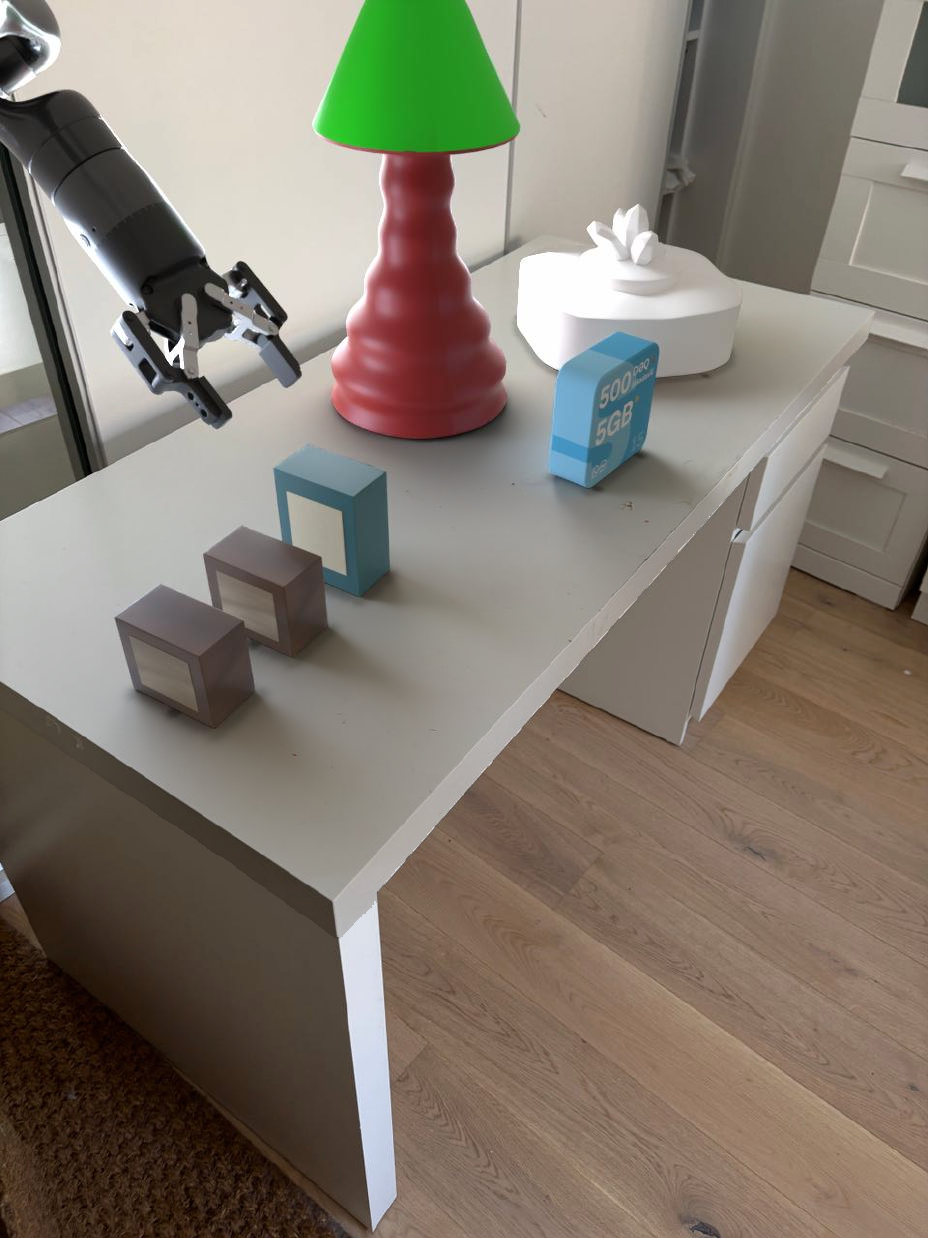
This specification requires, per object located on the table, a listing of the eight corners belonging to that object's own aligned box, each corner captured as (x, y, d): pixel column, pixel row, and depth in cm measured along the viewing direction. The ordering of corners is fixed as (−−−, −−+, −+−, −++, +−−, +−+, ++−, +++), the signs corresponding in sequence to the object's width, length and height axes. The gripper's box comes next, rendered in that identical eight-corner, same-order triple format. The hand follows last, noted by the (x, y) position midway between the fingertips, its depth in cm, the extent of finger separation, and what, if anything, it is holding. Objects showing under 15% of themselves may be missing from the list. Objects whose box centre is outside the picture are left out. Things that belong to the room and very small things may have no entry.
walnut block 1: (213, 729, 70) (198, 657, 65) (133, 688, 73) (113, 617, 68) (256, 691, 73) (244, 620, 68) (176, 653, 76) (160, 582, 71)
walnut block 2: (292, 658, 76) (283, 588, 71) (214, 623, 79) (201, 553, 74) (328, 625, 79) (322, 556, 74) (252, 593, 82) (241, 524, 77)
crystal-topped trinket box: (558, 386, 112) (571, 246, 102) (501, 304, 131) (507, 178, 120) (754, 368, 117) (786, 232, 107) (673, 291, 136) (693, 169, 125)
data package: (584, 494, 95) (597, 380, 87) (546, 478, 97) (556, 366, 89) (645, 446, 102) (662, 338, 94) (609, 433, 104) (622, 326, 96)
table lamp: (366, 457, 99) (339, -83, 70) (309, 376, 113) (267, -103, 84) (537, 422, 106) (576, -86, 77) (463, 350, 119) (473, -104, 91)
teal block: (359, 597, 82) (352, 497, 75) (284, 566, 85) (272, 467, 78) (390, 569, 85) (386, 470, 78) (317, 540, 88) (308, 443, 81)
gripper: (74, 226, 68) (221, 416, 71) (214, 177, 77) (338, 347, 80) (42, 284, 73) (180, 459, 76) (176, 232, 83) (294, 389, 86)
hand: (261, 401), depth 78 cm, fingers open, 8 cm apart
